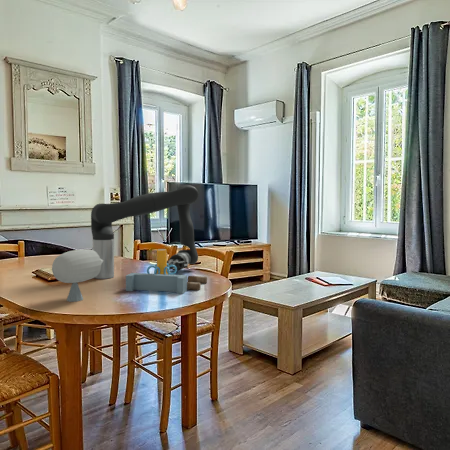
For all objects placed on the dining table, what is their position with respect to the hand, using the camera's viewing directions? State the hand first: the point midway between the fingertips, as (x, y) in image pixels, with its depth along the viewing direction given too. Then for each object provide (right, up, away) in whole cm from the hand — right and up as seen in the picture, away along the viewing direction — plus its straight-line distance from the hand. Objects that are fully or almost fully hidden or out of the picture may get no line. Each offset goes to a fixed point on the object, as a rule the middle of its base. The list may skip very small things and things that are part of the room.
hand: (168, 267), depth 172 cm
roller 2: (+10, -8, -10) cm, 16 cm away
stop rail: (-3, -8, -14) cm, 16 cm away
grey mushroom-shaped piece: (-27, -8, -28) cm, 40 cm away
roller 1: (+12, -6, +4) cm, 14 cm away
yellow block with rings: (-2, -7, -5) cm, 9 cm away
